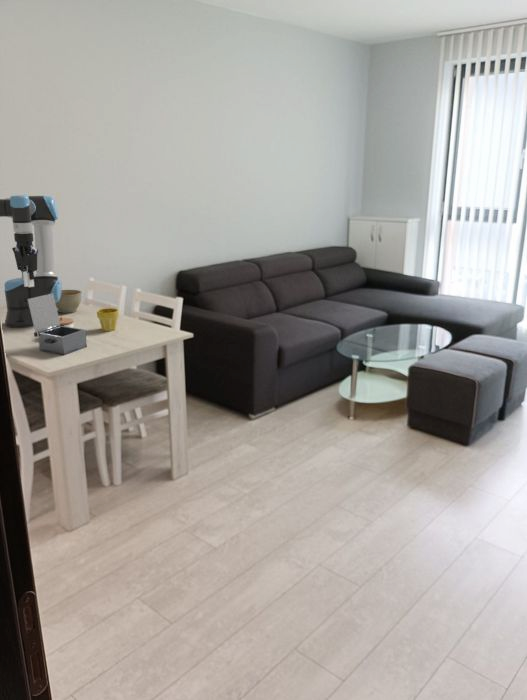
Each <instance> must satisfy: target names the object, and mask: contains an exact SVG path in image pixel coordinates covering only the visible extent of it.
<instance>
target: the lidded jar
mask: <svg viewBox="0 0 527 700" xmlns="http://www.w3.org/2000/svg"><path fill="white" fill-rule="evenodd" d="M59 321H60V324H64V326H66V327H72V328H75V327H74V319H73V318H71V317H63V316H60V317H59Z"/></svg>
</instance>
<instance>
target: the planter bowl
mask: <svg viewBox="0 0 527 700" xmlns="http://www.w3.org/2000/svg"><path fill="white" fill-rule="evenodd" d="M82 293H83V292H82V291H81V290H79V289H78V290H77V289H61V297H60V300H59V301H58V302H57V303H55V304H56V308H57V311H58V312H59V313H63V314H69V313H70V312H71V313H75V312H78V308H79V306H80V305H81V303H82V302H81V301H82ZM74 311H75V312H74Z"/></svg>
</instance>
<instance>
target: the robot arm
mask: <svg viewBox="0 0 527 700" xmlns="http://www.w3.org/2000/svg"><path fill="white" fill-rule="evenodd" d="M1 217H2V218H3V217H6V218H11V219H12V227H13V232H14V233H13V236H14V242H16V245H15V247H12V248H11V250H12V251H13V255H14V260H15V262H16V268H17V270H18V271H20V272H21V276H22V277H17V278H16V277H15V278H12V279H9V280H6V281H5V282H4V295H5V301H6V315H5V319H4V324H5V327H8V326H9V327H8V328H26V327H31V326H34V325H33V320H32V316H31V312H30V308H29V304H28V300H27V299H30V298H35V297H39V296H43V295H47V294H51V293H53V295H54V299H55V303H57V302H58V301H59V300H60V297H61V290H63V289H62V288H63V287H62V281H61V280H60V279H58V278H59V277H58V275H57V274H56V273H55V260H54V259H55V258H54V239H53V238H54V237H53V226H55V224H56V220H58V219H59V213H58V208H57V204H56V200H55V199H54V197H53V196H51V195H26V194H23V195H21V194H19V195H17V194H15V195H10V197H6V198H0V218H1ZM33 232H34V234H33ZM33 242H34V244H33ZM35 272H36V273H35Z"/></svg>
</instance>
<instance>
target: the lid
mask: <svg viewBox="0 0 527 700" xmlns="http://www.w3.org/2000/svg"><path fill="white" fill-rule="evenodd" d="M27 300H28V304H29V308H30V312H31V316H32V320H33V325H32V326H33V329H34V332H37V333H40V332H44V331H47V330H50V329H53V328H57V327H60V321H59V318H60V317H59V313H58V312H59V311H58V308H57V307H56V304H55V299H54V295H53V293H51V294H47V295H43V296H39V297H35V298H30V299H27Z"/></svg>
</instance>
